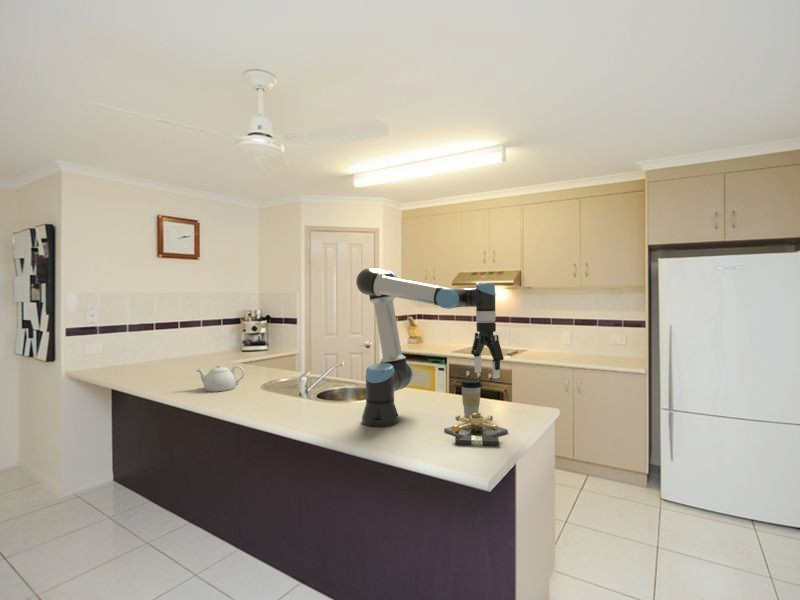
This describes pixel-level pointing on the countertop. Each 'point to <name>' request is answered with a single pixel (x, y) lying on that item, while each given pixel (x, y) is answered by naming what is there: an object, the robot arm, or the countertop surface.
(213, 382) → the teapot
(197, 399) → the countertop surface
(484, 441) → the stand
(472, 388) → the coffee cup
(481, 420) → the handle
